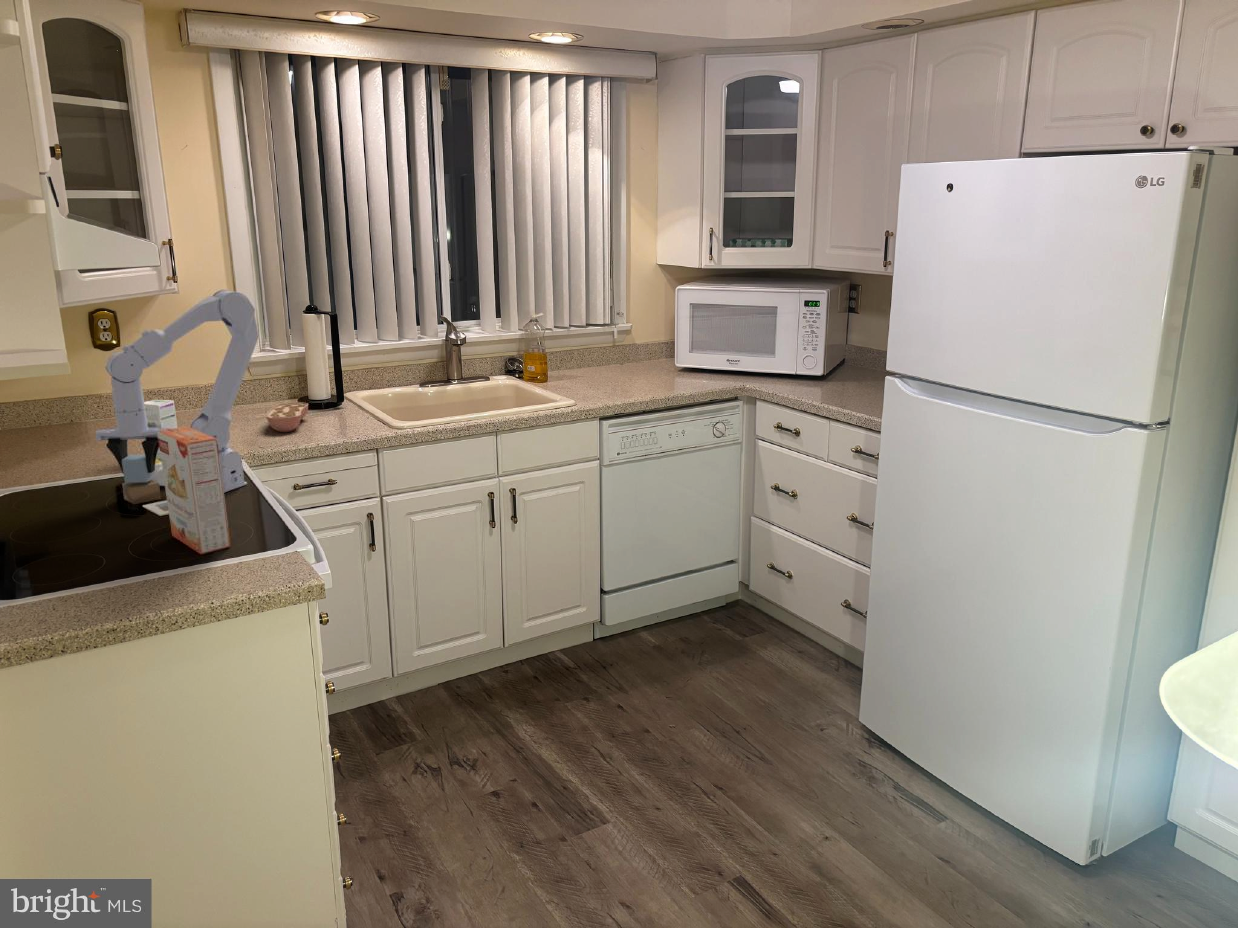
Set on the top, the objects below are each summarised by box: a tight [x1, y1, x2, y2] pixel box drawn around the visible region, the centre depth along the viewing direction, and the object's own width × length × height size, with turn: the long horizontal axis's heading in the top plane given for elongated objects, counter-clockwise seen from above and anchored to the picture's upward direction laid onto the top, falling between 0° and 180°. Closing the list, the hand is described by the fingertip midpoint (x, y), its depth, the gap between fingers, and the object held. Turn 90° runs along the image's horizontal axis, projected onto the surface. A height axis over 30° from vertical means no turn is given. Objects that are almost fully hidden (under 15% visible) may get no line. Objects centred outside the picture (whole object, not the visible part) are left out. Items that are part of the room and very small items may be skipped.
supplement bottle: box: [151, 459, 165, 487], centre depth 211 cm, size 5×5×10 cm
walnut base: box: [121, 480, 162, 505], centre depth 200 cm, size 6×6×4 cm
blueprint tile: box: [142, 499, 169, 517], centre depth 194 cm, size 9×6×1 cm, turn 47°
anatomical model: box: [266, 401, 309, 433], centre depth 269 cm, size 23×10×5 cm, turn 10°
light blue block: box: [122, 453, 155, 483], centre depth 199 cm, size 4×4×5 cm
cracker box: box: [157, 426, 232, 555], centre depth 171 cm, size 14×6×21 cm, turn 45°
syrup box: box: [144, 399, 178, 461], centre depth 233 cm, size 6×6×14 cm
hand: (138, 472), depth 199 cm, fingers closed on light blue block, 4 cm apart
